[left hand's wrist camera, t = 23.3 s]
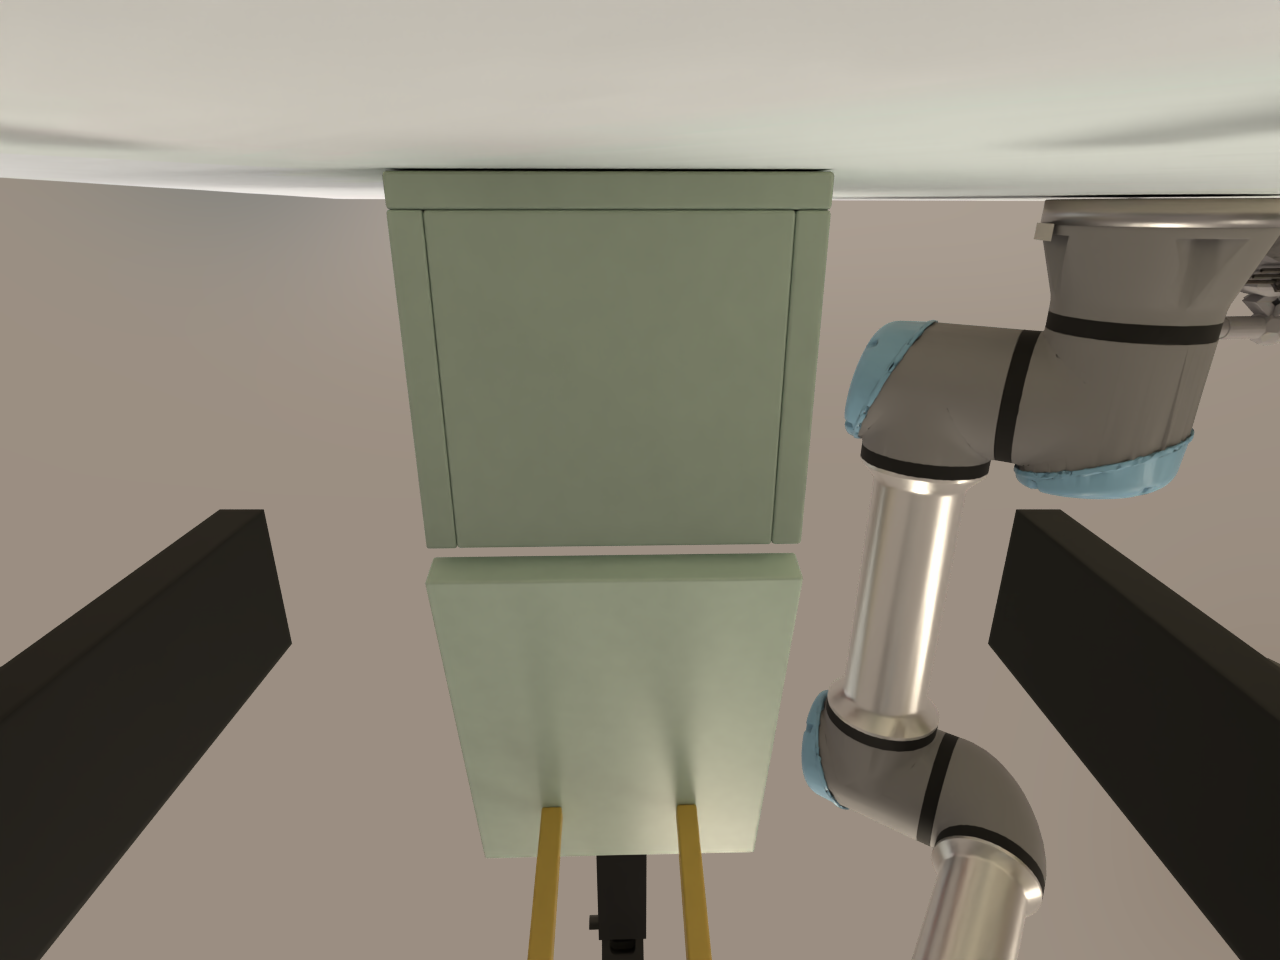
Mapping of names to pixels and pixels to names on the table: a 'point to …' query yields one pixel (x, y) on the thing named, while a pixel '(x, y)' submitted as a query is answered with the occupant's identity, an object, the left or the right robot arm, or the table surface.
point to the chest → (610, 352)
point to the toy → (1259, 304)
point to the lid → (616, 706)
